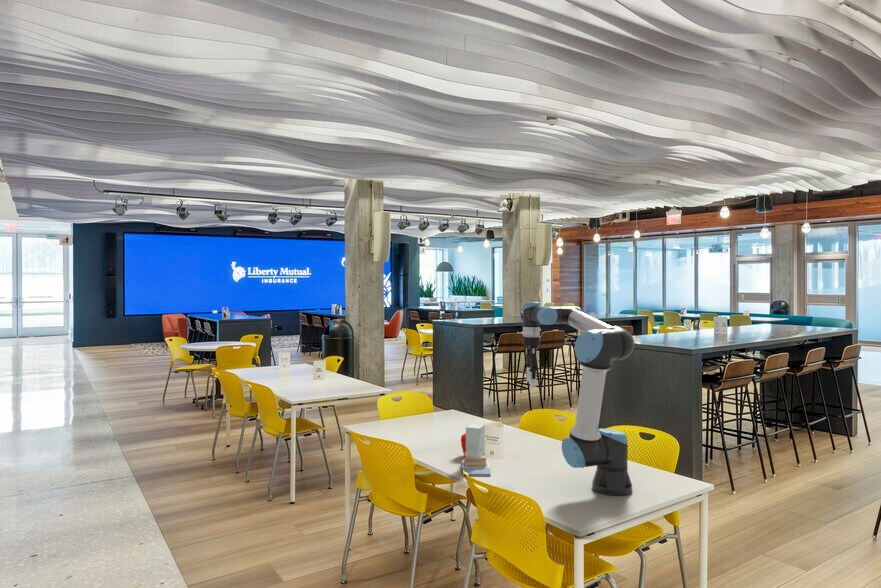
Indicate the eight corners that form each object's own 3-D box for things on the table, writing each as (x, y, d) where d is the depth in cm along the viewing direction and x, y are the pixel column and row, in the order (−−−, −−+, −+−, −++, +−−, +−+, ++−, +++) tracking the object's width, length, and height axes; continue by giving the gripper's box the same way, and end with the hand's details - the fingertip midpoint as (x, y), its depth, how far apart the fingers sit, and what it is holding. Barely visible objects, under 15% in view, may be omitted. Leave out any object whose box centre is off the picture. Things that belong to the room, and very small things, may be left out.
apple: (483, 455, 278) (483, 432, 278) (473, 459, 271) (473, 436, 271) (467, 452, 283) (467, 430, 283) (457, 456, 276) (457, 433, 276)
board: (490, 476, 246) (490, 473, 246) (462, 475, 247) (462, 473, 247) (488, 462, 266) (488, 459, 266) (461, 462, 267) (461, 459, 267)
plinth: (485, 467, 256) (485, 457, 256) (465, 466, 256) (465, 457, 256) (485, 461, 265) (485, 452, 265) (465, 460, 265) (465, 452, 265)
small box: (471, 451, 265) (471, 423, 265) (485, 453, 263) (485, 424, 263) (465, 456, 258) (465, 427, 258) (479, 458, 256) (479, 428, 255)
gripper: (543, 338, 248) (543, 388, 248) (536, 334, 273) (536, 379, 273) (526, 338, 248) (526, 388, 248) (520, 334, 273) (520, 379, 273)
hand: (531, 384), depth 261 cm, fingers open, 13 cm apart
